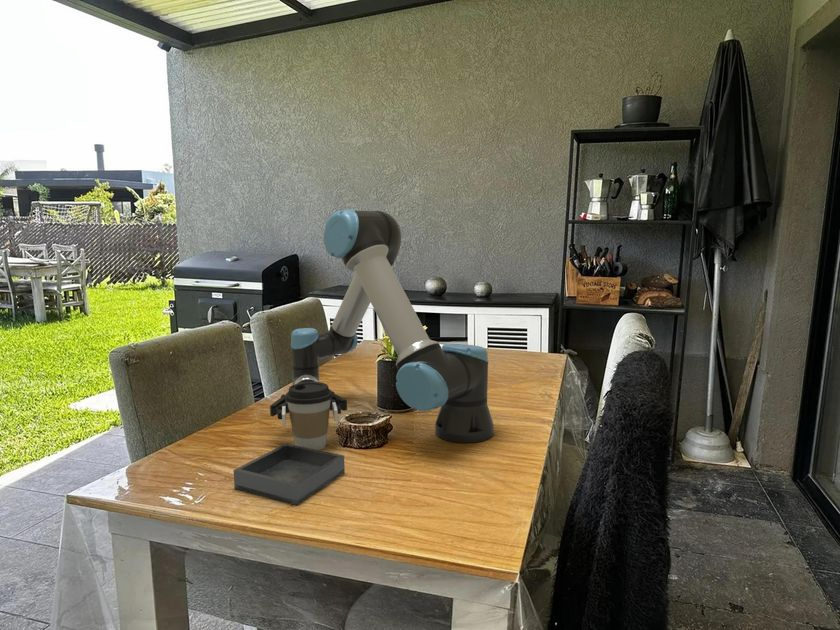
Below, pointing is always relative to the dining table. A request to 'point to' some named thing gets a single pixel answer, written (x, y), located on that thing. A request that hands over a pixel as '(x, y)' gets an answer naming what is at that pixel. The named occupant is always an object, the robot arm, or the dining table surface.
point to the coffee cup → (309, 413)
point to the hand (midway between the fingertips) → (310, 418)
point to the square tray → (289, 473)
